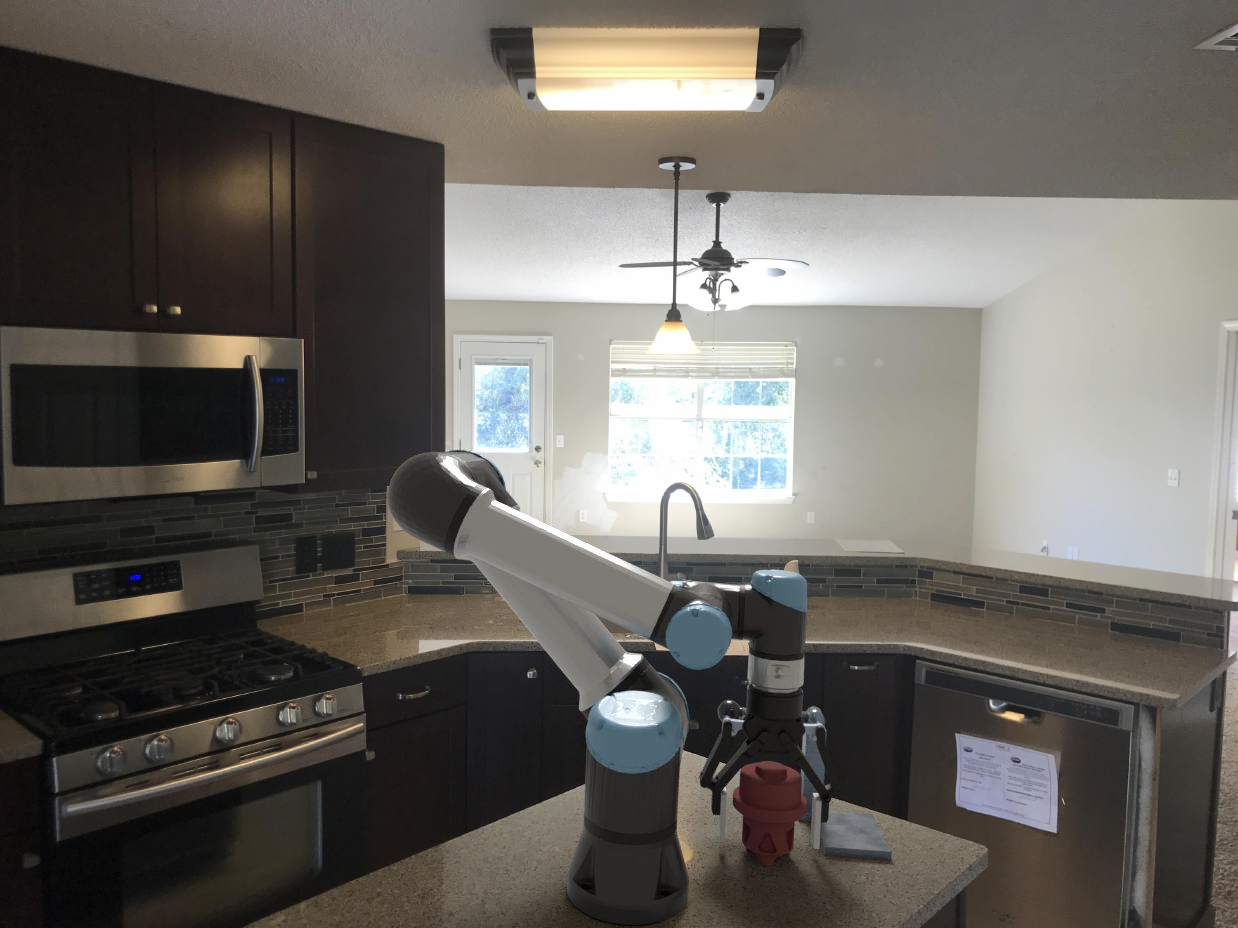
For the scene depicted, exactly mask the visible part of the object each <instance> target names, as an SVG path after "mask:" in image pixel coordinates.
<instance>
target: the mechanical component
mask: <svg viewBox="0 0 1238 928" xmlns="http://www.w3.org/2000/svg"><path fill="white" fill-rule="evenodd" d="M738 785H739V786H737V787H735V788H734V790H733V791H732V805H733V808H734V809H735V810H736V811H737V812H738V813H739V814H740V815H742V829H741V830H742V831H741V842H742V845H744V847H745V848H746V849H748V850H749V851H751V852H752V853H754V854H755V855H756V856H757V857H758V859H759V862H760V864H761V865H762V866H765V867H771V866H772V865H773V864H774V863H775V860H776V859H777V858H779V857H782V856H785V855H787V854H789V853H791V852H792V851H793V849H794V845H795V825H796V823H795V822H797V821H800V820H799V819H801V818H802V817H804V816H805V814H806V811H807V800H806V798H805V797H804V795H803V794H802V793H801V787H802V777H801V773H799V772H798V771H797V770H796V769H793V768H792V767H790V766H787V765H784V764H783V763H780V762H777V761H772V760H771V761H770V760H763V761H760V762H753V763H749V764H745V765H743V767H742V768H741V769H740V770H739V784H738Z"/></svg>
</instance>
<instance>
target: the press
mask: <svg viewBox="0 0 1238 928" xmlns="http://www.w3.org/2000/svg"><path fill="white" fill-rule="evenodd" d="M803 724H806V723H805V722H803ZM823 727H824V728H825V731H826V735H827V734H828V733H827V732H828V731H827V729H826V727H825V725H824V726H823ZM801 745H802V747H801V751H802V752H803V753H804V755H805V756H806V758H807V759H808V761H809V762H810V764H811V765H812V767H813V768H814V769H815V771H816V772H817V774H818V775H819V777H820V778H821V780H822V781H823V782H824V783H825V774H826V773H825V772H826V770H825V767H824V764H823V762H822V759H821V756H820V754H819V751H818V749H817V746H816V743H815V741H812V740H811V739H810V737H809V735H808V734H807V733H804V735H803V736H802V744H801ZM800 775H801V777H802V787H801V793H802V794H803V795H804V797H805V798H806V800H807V811H806V814H805V816H804V817H802V818H801V819H799V820H798V821H804V822H805V821H807V822H811V819H812V798H813V793H818V792H817V791H816V789H815V788H814V786H813V785H812V784H811V782H810V781H809V779H808V778H807V776H806V775H805V773H804V772H803V770H802V769H801V768H800ZM878 824H879V823H877V821H876V818H875V817H874V814H873V813H860V812H846V811H833V810H829V819H828V821H827V823H825V822H821V824H820V845H821V849H822V851H823V854H824V856H829V857H843V858H855V859H867V860H869V859H870V860H882V861H884V860H885V861H892V853H893V851H892V849H891V848H890V846H889V844H888V842H887V840H886V838H885V836H884V834H883V832H882V831H881V829H880V826H879V825H878Z"/></svg>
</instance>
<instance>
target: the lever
mask: <svg viewBox="0 0 1238 928" xmlns="http://www.w3.org/2000/svg"><path fill="white" fill-rule="evenodd" d="M745 715H746V707H741V706H740V704H738V702H736V701H734V700H731V699H725V700H724V701H723V700H722V702H721V703H720V704H719V705H718V707H717V716H718V718H719V720H720V721H721V722H722V720H723V717H724V716H730V717H731V719H737V720H741V719H742V720H743V719H744V717H745ZM816 721H820V722H821V723H822V724H823V726H824V727H825V724H826V718H825V716H824V714H823V713H822V710H821V709H820V708H819V707H817V706H810V707H808V708H807V709H806V711H803V710H802V722H803V723H805V724H814V723H815V722H816Z"/></svg>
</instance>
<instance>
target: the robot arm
mask: <svg viewBox="0 0 1238 928" xmlns="http://www.w3.org/2000/svg"><path fill="white" fill-rule="evenodd" d="M390 479H391V480H390V482H389V486H388V489H387V503H388V507H389V511H390V514H391V515H392V518H393V519H394V521H395V522H396V523H397V525H398V526H399V527H400V528H401V529H402V530H403V531H404V532H405V533H407V534H408V535H410V536H411V537H413V538H415V539H417V540H418V541H420V542H423V543H426V544H427V545H429V546H432V547H434V548H436V549H438V550H440V551H442V552H444V553H446V554H448V555H450V556H453V557H454V558H455V559H456V560H464V561H469V562H472V563H474V565H475V566H476V567H477V569H478V570H479V572H480V573H482V575H483V576H484V577H485V579H487V581H488V582H489V583H490V584H491V586H492V587H493V589H494V590H495V591H496V592H497V593H498V594H499V595H500V597H501V598H502V599H503V601H504V602H506V604H507V606H508V607H509V608H510V609H511V610H512V611H513V613H514V614H515V616H517V617H518V619H519V620H520V621H521V623H522V624H523V625H524V626H525V627H526V629H527V630H528V631H529V632H530V633H531V635H532V636H533V637H534V639H535V640H536V641H537V642H538V643H539V644H540V646H541V648H543V649H544V650H545V652H546V653H547V654H548V655H549V657H550V658H551V659H552V660H553V662H554V663H555V665H556V666H557V667H558V668H559V669H560V670H561V672H562V673H563V674H564V675H565V677H566V678H567V679H568V680H569V682H571V684H572V685H573V686H574V687H575V689H577V691H578V694H579V704H578V710H579V711H580V712H581V713H582V715H583V716H584V717H585V719H586V720H587V722H586V723H587V724H586V726H585V727H586V728H585V739H586V740H585V744H586V753H585V774H584V775H585V776H584V777H585V779H584V780H585V781H584V805H583V807H584V808H583V824H582V825H583V826H582V830H581V832H580V835H579V838H578V840H577V844H576V846H575V849H574V851H573V855H572V857H571V860H570V862H569V866H568V869H567V876H566V878H567V879H566V893H567V896H568V899H569V900H570V902H571V903H572V904H573V906H575V908H577V909H578V910H579V911H580V912H582V913H583V914H586V916H589V917H591V918H594V919H595V920H600V921H602V922H606V923H610V924H617V925H623V926H627V925H628V926H637V925H638V926H639V925H649V924H654V923H659V922H661V921H665V920H667V919H669V918H671V917H674V916H675V915H676V914H678V913H679V912H680V911H682V909H684V907H685V906H686V904H687V902H688V899H689V882H690V879H689V878H690V877H689V871H688V869H687V865H686V862H685V861H686V860H685V857H684V854H683V850H682V847H681V844H680V840H679V835H678V811H679V810H678V809H679V808H678V807H679V793H680V792H679V791H680V789H679V787H680V773H681V771H680V770H681V764H682V763H681V762H682V759H683V753H684V748H685V742H686V739H687V736H688V733H689V729H690V713H689V705H688V703H687V699H686V697H685V694H684V693H683V690H682V689H681V688H680V687H679V685H678V684H677V683H676V682H675V681H674V679H672V678H671V677H670V676H668V675H666V674H664V673H662V672H659V671H657V670H656V669H655V668H654V667H653V666H652V664H650V662H649V661H648V659H646V657H645V656H644V655H643V654H642V653H635V652H629V651H626V650H625V649H624V647H623V646H622V645H621V644H620V643H619V642H618V640H617V639H616V638H615V637H614V635H613V634H612V633H611V632H610V631H609V630H608V628H607V627H606V626H605V624H604V623H603V622H602V621H601V620H600V618H603V619H605V620H607V621H609V622H611V623H614V624H615V625H617V626H620V627H621V628H624V629H625V630H628V631H630V632H632V633H634V634H636V635H638V636H640V637H642V638H645V639H647V640H649V641H650V642H653V643H655V644H657V645H658V646H660V647H662V648H665V649H666V650H668V652H669V653H670V654H671V656H672V658H674V660H675V661H676V662H677V663H679V664H680V665H681V666H682V667H683V666H684V667H685V668H688V669H690V670H698V671H699V670H705V669H710V668H712V667H714V666H715V665H717V664H718V663H719V662H720V661H721V660H722V659H723V658H724V657H725V655H726V654H727V652H728V650H729V647H731V646H730V645H731V643H732V640H736V641H737V640H738V641H749V643H748V645H749V646H748V662H747V663H748V664H747V681H748V682H750V683H749V684H747V686H746V707H745V708H746V715H745V717H744V719H743V718H742V719H739V720H737V719H731V717H730V716H724V717H723V720H722V721H721V731H720V732H719V735H718V737H717V739H716V741H715V743H714V746H712V749H711V750H710V751H711V752H710V753H709V755H708V757H707V759H706V762H705V763H704V766H703V768H702V769H701V771H700V772H699V773H700V774H699V785H700V787H702V788H703V789H705V788H706V789H709V790H710V791H711V803H710V804H711V806H710V807H711V808H710V809H711V814H712V815H713V816H718V830H717V831H718V833H717V834H718V842H719V843H725V842H726V825H727V822H726V820H727V797H728V794H727V788H726V786H728V784H729V783H730V782H731V781H732V780H733V779H734V777H735V776H736V775H737V774H738V772H740V770H741V768H742V767H744V766H745V765H746V763H747V762H748V761H749V760H750V759H752V758H753V757H754V756H755V755H756V753H757V752H759V753H760V754H761V755H770V754H772V755H773V754H774V755H778V756H783V757H784V756H785V755H786V754H790V755H791V757H792V758H793V760H794V761H795V762H796V763H797V764H798V766H799V768H800V770H801V769H802V770H803V772H804V773H805V775H806V776H807V778H808V779H809V781H810V782H811V784H812V785H813V786H814V788H815V789H816V791H817V792H818V793H813V798H812V819H811V821H810V823H811V824H810V842H811V845H812V848H813V849H816V850H820V845H821V843H820V824H821V822H825V823H827V821H828V819H829V811H830V803H831V801H832V799H833V798H836V797H839V798H841V797H843V796H844V793H845V792H844V791H845V790H844V788H843V786H842V783H841V780H840V777H839V775H838V772H837V769H836V767H835V765H834V761H833V760H832V756H831V755H830V752H829V749H828V746H827V734H826V731H827V730H826V731H825V729H826V727H825V726H824V727H825V728H824V727H823V724H822V723H821V722H820V721H816V722H815V723H814V724H809V723H805V724H803V723H804V722H802V711H803V701H804V698H803V697H804V691H803V689H802V688H801V687H802V686H803V685H804V679H805V675H804V674H805V673H804V672H805V656H806V655H805V653H806V635H807V624H808V623H807V620H808V581H807V579H805V577H804V576H803V575H801V574H800V573H797V572H796V571H795V572H794V571H789V570H782V569H759V570H756V571H755V572H754V573H753V574H752V576H751V580H750V583H745V584H741V583H739V584H735V583H734V584H732V583H721V582H709V581H708V582H705V581H696V580H695V581H694V580H693V579H687V580H670V581H669V580H666V579H664V578H662V577H660V576H658V575H656V574H654V573H651V572H649V571H647V570H645V569H643V568H641V567H638V566H637V565H635V564H633V563H630V562H629V561H625V560H624V559H621V558H619V557H617V556H616V555H613V554H611V553H609V552H606V551H605V550H603V549H601V548H599V547H596V546H594V545H592V544H589V543H587V542H585V541H583V540H580V539H579V538H576V537H574V536H572V535H570V534H568V533H566V532H564V531H561V530H560V529H557V528H555V527H553V526H551V525H549V524H547V523H545V522H542V521H541V520H538V519H536V518H534V517H532V516H530V515H528V514H527V513H523V512H521V506H520V505H519V503H518V502H517V501H516V500H515V498H513V497H512V495H511V494H510V493H509V491H508V490H507V487H506V482H505V479H504V477H503V473H501V471H500V468H499V467H497V466H496V465H495V463H494V462H493V461H491V459H489V458H487V457H485V456H484V455H482V454H479V453H477V452H474V451H471V450H465V449H453V450H448V451H440V452H439V451H431V452H422V453H419V454H416V455H413V456H412V457H410V458H408V459H407V460H405V461H403V463H402V464H400V466H398V468H397V469H396V470H395V472H394V473H393V475H392V477H391V478H390ZM599 617H600V618H599ZM740 730H742V731H743V733H744V734H745V736H746V737H747V738H745V740H744V741H743V742H742V743H741V746H740V747H739V748H738V750H736V752H735V753H734V754H733V755H732V756H731V757H730V758H729V760H728V761H727V763H725V765H724V766H723V767H722V768H721V769H720V771H719V772H718V773H717V774H716V775H715V773H716V771H717V768H718V767H719V766H720V763H721V761H722V759H723V757H724V755H725V753H726V751H727V749H728V747H729V745H730V742H731V739H732V737H736V735H737V734H738V732H739V731H740ZM804 733H807V734H808V735H809V737H810V739H811V740H812V741H815V743H816V746H817V749H818V751H819V754H820V756H821V759H822V762H823V764H824V767H825V772H826V774H827V777H828V780H829V784H825V781H824V782H823V781H822V780H821V778H820V777H819V775H818V774H817V772H816V771H815V769H814V768H813V767H812V765H811V764H810V762H809V761H808V759H807V758H806V756H805V755H804V753H803V752H802V748H801V747H800V745H799V744H798V743H799V741H800V740H801V739H803V735H804ZM714 775H715V776H714Z"/></svg>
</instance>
